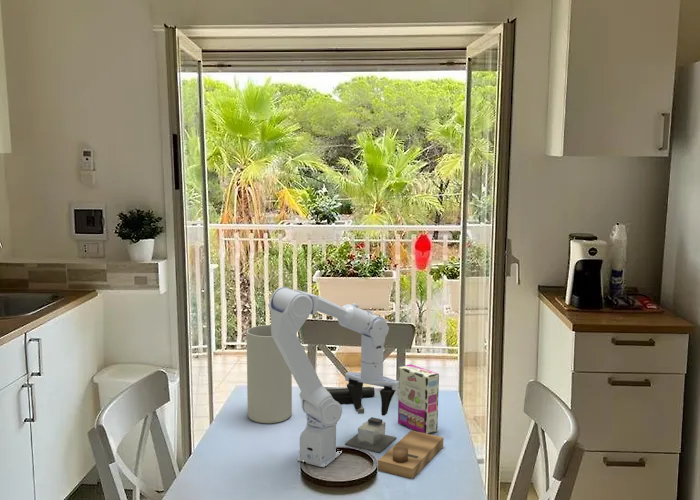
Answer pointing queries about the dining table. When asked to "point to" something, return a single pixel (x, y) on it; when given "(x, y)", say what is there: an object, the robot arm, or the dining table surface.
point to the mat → (377, 448)
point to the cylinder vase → (267, 378)
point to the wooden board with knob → (410, 454)
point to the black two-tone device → (345, 396)
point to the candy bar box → (418, 399)
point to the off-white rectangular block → (371, 432)
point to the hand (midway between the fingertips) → (371, 411)
